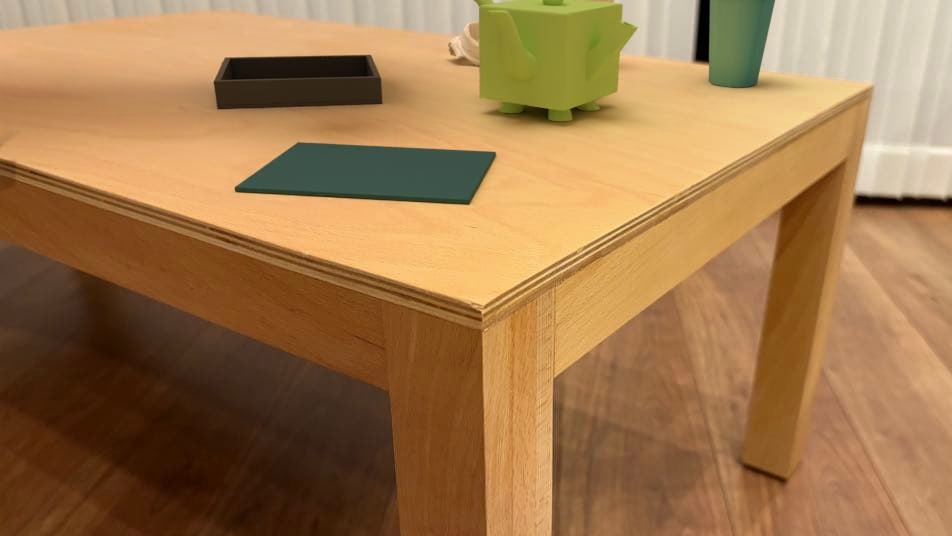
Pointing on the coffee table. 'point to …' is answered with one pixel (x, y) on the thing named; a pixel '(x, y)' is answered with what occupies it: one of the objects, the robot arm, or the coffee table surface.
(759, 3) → the cup
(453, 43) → the seashell
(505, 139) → the coffee table surface
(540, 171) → the coffee table surface
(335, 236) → the coffee table surface
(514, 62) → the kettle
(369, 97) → the enamel tray
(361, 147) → the cloth mat
